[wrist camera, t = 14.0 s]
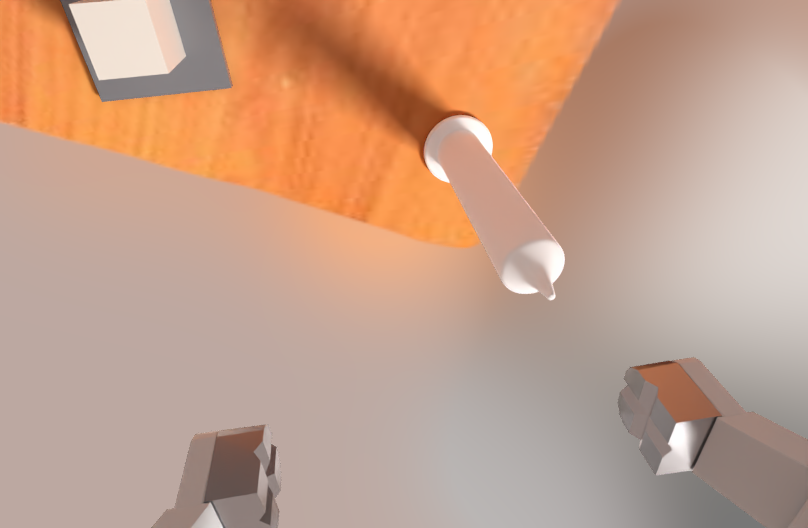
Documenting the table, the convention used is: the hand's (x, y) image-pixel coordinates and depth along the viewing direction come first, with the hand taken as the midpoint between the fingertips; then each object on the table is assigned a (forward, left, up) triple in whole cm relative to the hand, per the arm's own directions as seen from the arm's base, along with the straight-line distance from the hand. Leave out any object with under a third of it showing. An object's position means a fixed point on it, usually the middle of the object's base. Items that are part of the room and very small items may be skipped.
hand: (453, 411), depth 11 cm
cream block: (-4, -16, -39) cm, 43 cm away
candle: (+10, +10, -40) cm, 43 cm away
